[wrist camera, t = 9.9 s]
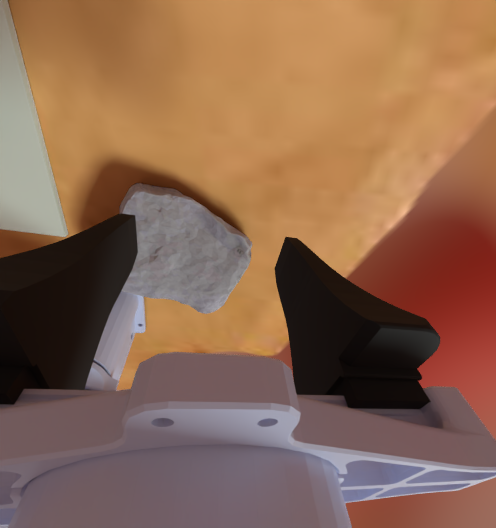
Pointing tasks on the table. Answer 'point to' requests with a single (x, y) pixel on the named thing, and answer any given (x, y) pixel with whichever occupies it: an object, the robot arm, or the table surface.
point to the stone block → (183, 249)
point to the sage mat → (23, 147)
